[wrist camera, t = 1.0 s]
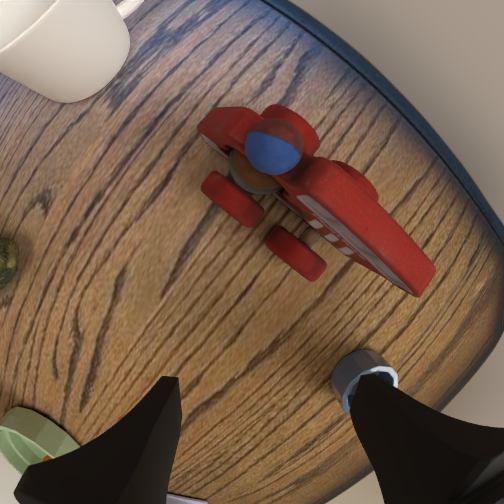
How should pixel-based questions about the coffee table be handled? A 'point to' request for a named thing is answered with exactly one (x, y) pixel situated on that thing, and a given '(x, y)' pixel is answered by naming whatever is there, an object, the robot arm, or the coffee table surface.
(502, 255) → the coffee table surface
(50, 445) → the bowl
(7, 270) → the decorative stone
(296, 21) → the coffee table surface
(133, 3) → the mug
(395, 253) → the toy fire truck
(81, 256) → the coffee table surface
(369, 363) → the holder
